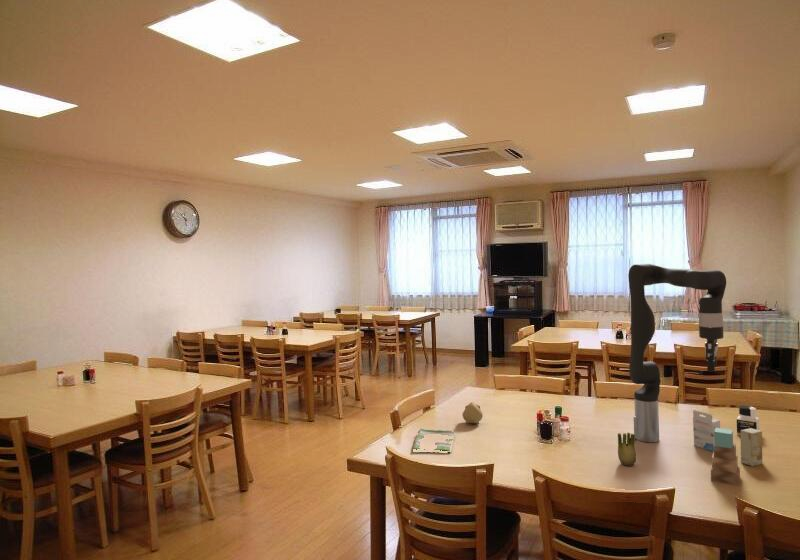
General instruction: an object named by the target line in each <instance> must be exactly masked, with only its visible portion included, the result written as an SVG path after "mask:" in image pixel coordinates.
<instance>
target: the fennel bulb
mask: <svg viewBox="0 0 800 560" xmlns="http://www.w3.org/2000/svg"><path fill="white" fill-rule="evenodd" d="M634 438H635V435H634V433H630V432H627V433H624V432H623V433H622V434H621V432H618V433H617V457H618V460H619V462H620V463H621V464H622V465H624V466H628V467H632V466H633V465H635V464H636V462H637V452H636V451H637V450H636V446H635V439H634Z"/></svg>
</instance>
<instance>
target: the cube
mask: <svg viewBox="0 0 800 560" xmlns="http://www.w3.org/2000/svg"><path fill="white" fill-rule="evenodd" d="M714 441H715V446H718V447H724V448H731V449H732V447H733V444H734V429H729V428H721V427H720V428H716V429H715V431H714Z"/></svg>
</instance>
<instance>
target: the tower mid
mask: <svg viewBox="0 0 800 560" xmlns="http://www.w3.org/2000/svg"><path fill="white" fill-rule="evenodd" d="M712 452H713V453H712V456H711V467H712V469H716V470H721V471H727V472H732V473H737V468H738V466H739V463H738V462H739V461H738V458H739V457H738V454H736V458H735V461H732V460H726V459H720V458H714V451H712Z"/></svg>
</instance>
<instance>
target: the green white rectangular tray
mask: <svg viewBox="0 0 800 560" xmlns="http://www.w3.org/2000/svg"><path fill="white" fill-rule="evenodd" d="M417 433H418V435H417V434H416V438H415V441H414V444H413V447H414V448H413V447H412V450H413V449H416V450H417V449H420V448H419V447H420V442H419V440H420V439H422V438H424V435H428V434H441V435H448V436H454V437H455V435H454V433H455V432H454V431H452V430H449V429H448V430H446V429H445V430H442V429H437V430H436V429H425V428H420V429H419V430H418V431H417ZM452 440H453V439H449V440H448V439H446V440H445V441H447V443H445V442H444V443H443V442H436V443H435V445H437V448H436V449H434V450H440V451H441V450H442V451H450V446H451V444H449V443H450V441H452ZM424 450H425V449H424Z"/></svg>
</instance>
